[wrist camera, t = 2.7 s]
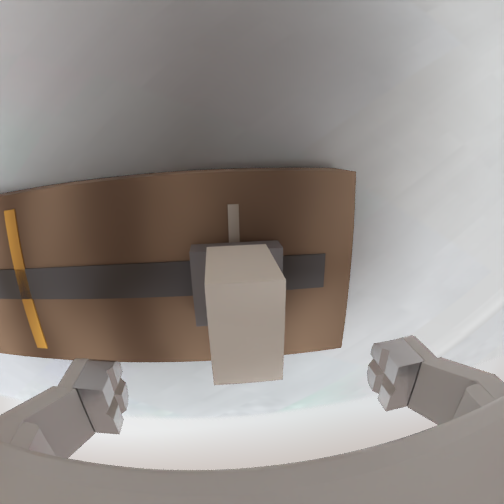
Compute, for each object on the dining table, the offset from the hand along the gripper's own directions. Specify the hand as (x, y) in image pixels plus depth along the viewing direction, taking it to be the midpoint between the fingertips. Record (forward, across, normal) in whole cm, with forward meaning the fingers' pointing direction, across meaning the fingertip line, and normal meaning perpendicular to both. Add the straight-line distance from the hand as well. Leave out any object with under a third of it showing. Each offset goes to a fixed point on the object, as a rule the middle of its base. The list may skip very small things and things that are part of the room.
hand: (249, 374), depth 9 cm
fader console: (+10, +6, -1) cm, 11 cm away
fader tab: (+6, 0, -1) cm, 6 cm away
